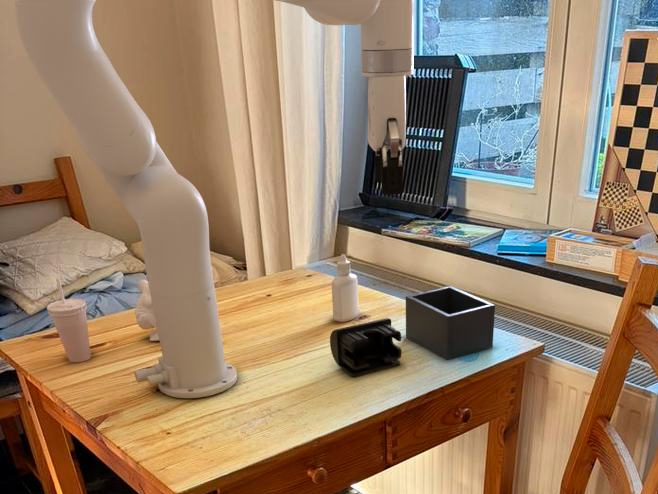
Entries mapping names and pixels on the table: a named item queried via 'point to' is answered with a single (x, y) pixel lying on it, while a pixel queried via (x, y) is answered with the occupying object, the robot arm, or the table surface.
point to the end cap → (366, 347)
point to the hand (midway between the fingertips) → (388, 187)
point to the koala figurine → (146, 311)
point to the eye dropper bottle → (345, 292)
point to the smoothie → (71, 326)
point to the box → (450, 322)
